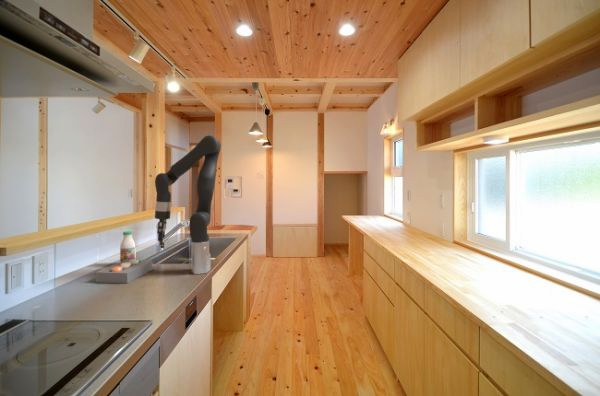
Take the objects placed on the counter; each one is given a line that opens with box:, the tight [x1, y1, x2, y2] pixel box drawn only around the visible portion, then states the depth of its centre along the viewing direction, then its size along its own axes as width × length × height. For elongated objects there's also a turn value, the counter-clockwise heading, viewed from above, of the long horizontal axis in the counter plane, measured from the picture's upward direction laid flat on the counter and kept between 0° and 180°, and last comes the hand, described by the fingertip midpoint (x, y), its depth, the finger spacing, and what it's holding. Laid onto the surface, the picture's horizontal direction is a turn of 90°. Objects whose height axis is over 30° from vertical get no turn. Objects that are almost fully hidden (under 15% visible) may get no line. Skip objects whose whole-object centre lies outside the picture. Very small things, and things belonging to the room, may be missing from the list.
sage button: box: [129, 258, 139, 264], centre depth 149 cm, size 4×4×4 cm
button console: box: [94, 259, 154, 284], centre depth 142 cm, size 16×21×5 cm
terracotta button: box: [112, 266, 122, 272], centre depth 136 cm, size 4×4×4 cm
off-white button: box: [121, 262, 131, 268], centre depth 142 cm, size 4×4×4 cm
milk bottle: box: [119, 230, 137, 262], centre depth 160 cm, size 8×8×20 cm
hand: (161, 239), depth 148 cm, fingers open, 8 cm apart
